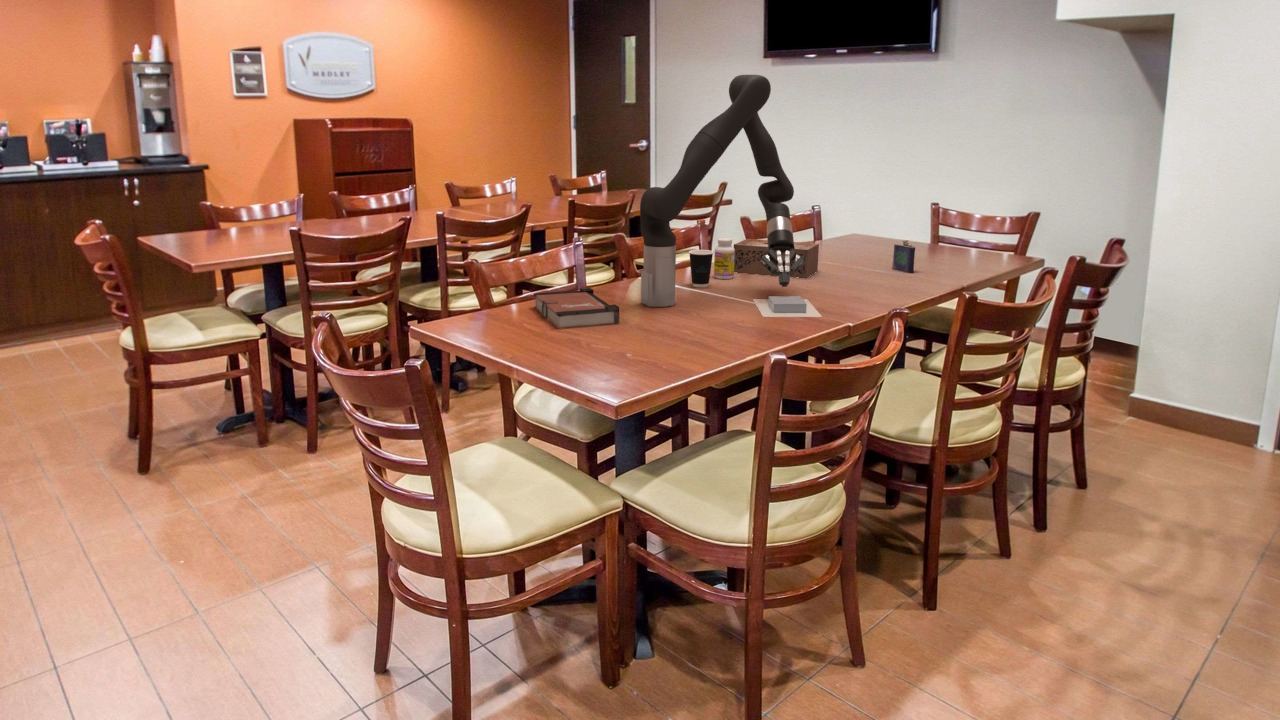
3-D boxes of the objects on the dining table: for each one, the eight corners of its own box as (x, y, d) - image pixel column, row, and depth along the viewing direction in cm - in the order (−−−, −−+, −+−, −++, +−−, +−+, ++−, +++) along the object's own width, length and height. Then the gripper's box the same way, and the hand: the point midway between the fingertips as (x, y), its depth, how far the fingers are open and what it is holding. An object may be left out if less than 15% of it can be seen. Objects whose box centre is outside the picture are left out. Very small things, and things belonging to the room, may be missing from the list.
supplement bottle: (710, 278, 296) (711, 239, 292) (718, 275, 302) (719, 237, 298) (729, 280, 293) (730, 241, 289) (736, 276, 299) (738, 238, 295)
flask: (890, 269, 313) (893, 238, 310) (896, 268, 314) (899, 238, 311) (909, 273, 305) (912, 242, 302) (915, 272, 307) (918, 241, 304)
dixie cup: (701, 282, 289) (701, 248, 286) (718, 286, 284) (719, 251, 280) (682, 285, 285) (683, 251, 282) (699, 289, 279) (700, 254, 276)
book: (531, 309, 254) (531, 291, 253) (590, 304, 260) (590, 287, 258) (555, 330, 230) (554, 311, 229) (619, 325, 236) (619, 307, 235)
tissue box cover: (732, 273, 306) (733, 244, 303) (746, 266, 319) (747, 238, 316) (806, 279, 296) (807, 249, 293) (817, 272, 308) (819, 243, 305)
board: (752, 301, 262) (752, 299, 262) (806, 301, 263) (807, 299, 262) (763, 318, 241) (763, 316, 241) (822, 318, 241) (822, 316, 241)
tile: (768, 296, 255) (773, 303, 245) (800, 296, 255) (806, 303, 245) (768, 304, 255) (773, 312, 246) (799, 304, 255) (806, 312, 246)
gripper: (759, 228, 259) (763, 277, 250) (804, 228, 259) (810, 277, 250) (755, 243, 265) (760, 292, 257) (800, 243, 265) (805, 292, 257)
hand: (784, 285), depth 254 cm, fingers closed
